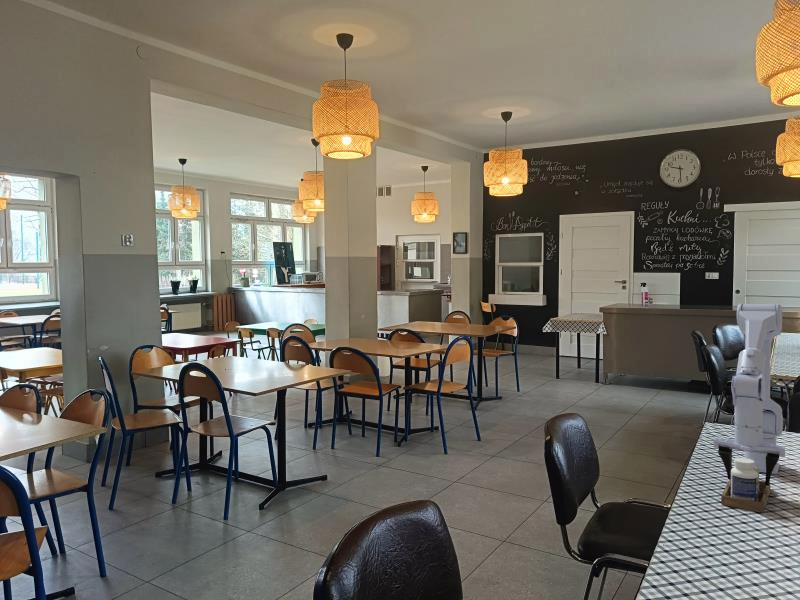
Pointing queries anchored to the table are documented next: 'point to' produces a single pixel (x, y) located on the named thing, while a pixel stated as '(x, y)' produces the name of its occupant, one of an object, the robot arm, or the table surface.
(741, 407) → the robot arm
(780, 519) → the table surface
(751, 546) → the table surface
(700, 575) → the table surface
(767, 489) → the wooden tray
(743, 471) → the pill bottle
